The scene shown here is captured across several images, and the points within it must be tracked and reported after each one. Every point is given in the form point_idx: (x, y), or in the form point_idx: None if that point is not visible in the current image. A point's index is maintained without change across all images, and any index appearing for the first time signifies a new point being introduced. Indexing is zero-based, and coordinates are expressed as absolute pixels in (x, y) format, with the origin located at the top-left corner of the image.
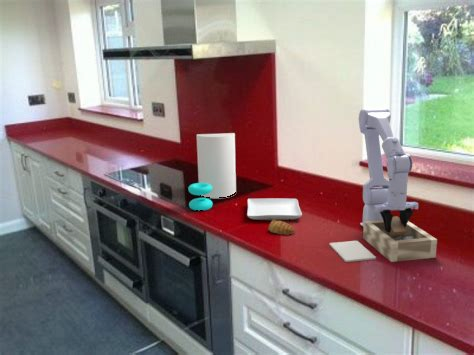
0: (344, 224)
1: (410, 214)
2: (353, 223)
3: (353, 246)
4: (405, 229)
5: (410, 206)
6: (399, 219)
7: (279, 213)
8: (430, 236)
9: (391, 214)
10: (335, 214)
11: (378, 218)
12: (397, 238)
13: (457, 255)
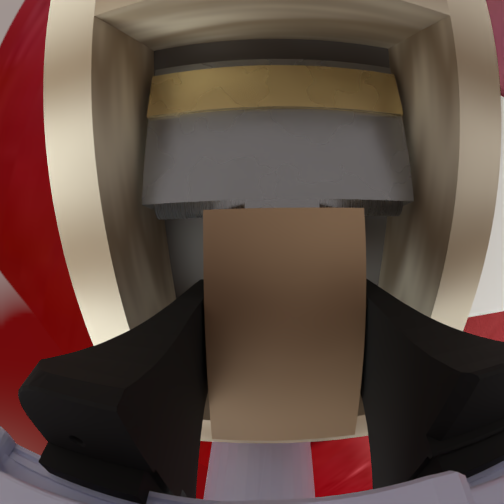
0: (358, 455)
1: (73, 368)
2: (321, 460)
3: (500, 254)
4: (212, 234)
5: (25, 499)
6: (214, 396)
7: None
8: (58, 46)
9: (493, 379)
10: (330, 494)
11: (280, 462)
12: (311, 187)
13: (19, 64)
